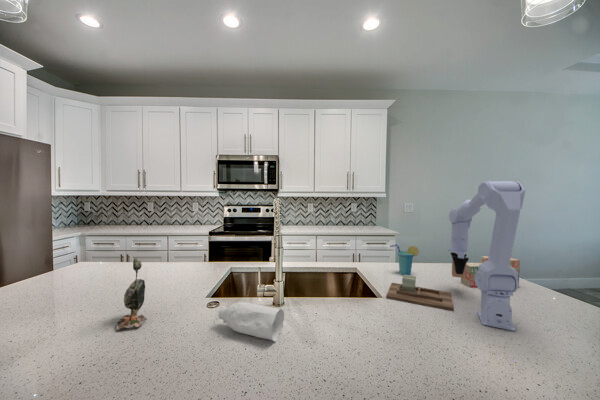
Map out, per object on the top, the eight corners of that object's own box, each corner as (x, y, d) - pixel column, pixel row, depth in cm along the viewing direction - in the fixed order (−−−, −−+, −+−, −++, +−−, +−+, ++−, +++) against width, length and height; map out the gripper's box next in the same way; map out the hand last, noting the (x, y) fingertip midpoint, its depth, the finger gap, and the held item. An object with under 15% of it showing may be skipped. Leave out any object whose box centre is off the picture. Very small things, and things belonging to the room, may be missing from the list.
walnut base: (453, 311, 86) (454, 290, 85) (386, 298, 96) (386, 279, 95) (450, 294, 100) (450, 277, 100) (391, 284, 110) (392, 269, 110)
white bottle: (230, 319, 78) (230, 294, 78) (285, 332, 71) (285, 304, 71) (212, 332, 71) (212, 304, 71) (272, 347, 64) (272, 317, 64)
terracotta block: (465, 278, 99) (466, 263, 99) (452, 276, 101) (452, 261, 101) (464, 275, 103) (464, 260, 103) (451, 273, 105) (452, 259, 105)
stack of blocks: (469, 287, 108) (470, 259, 108) (460, 282, 114) (461, 255, 114) (519, 288, 108) (520, 259, 108) (507, 283, 114) (508, 256, 114)
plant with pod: (154, 312, 82) (154, 251, 82) (138, 331, 71) (138, 260, 70) (127, 314, 81) (127, 252, 80) (106, 333, 69) (105, 261, 69)
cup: (393, 276, 121) (393, 245, 121) (386, 271, 129) (387, 242, 128) (421, 276, 122) (421, 245, 122) (412, 271, 130) (413, 242, 129)
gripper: (447, 235, 110) (446, 266, 110) (449, 240, 97) (448, 275, 97) (466, 236, 106) (465, 268, 107) (471, 242, 94) (470, 278, 94)
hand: (458, 272), depth 102 cm, fingers closed on terracotta block, 4 cm apart
